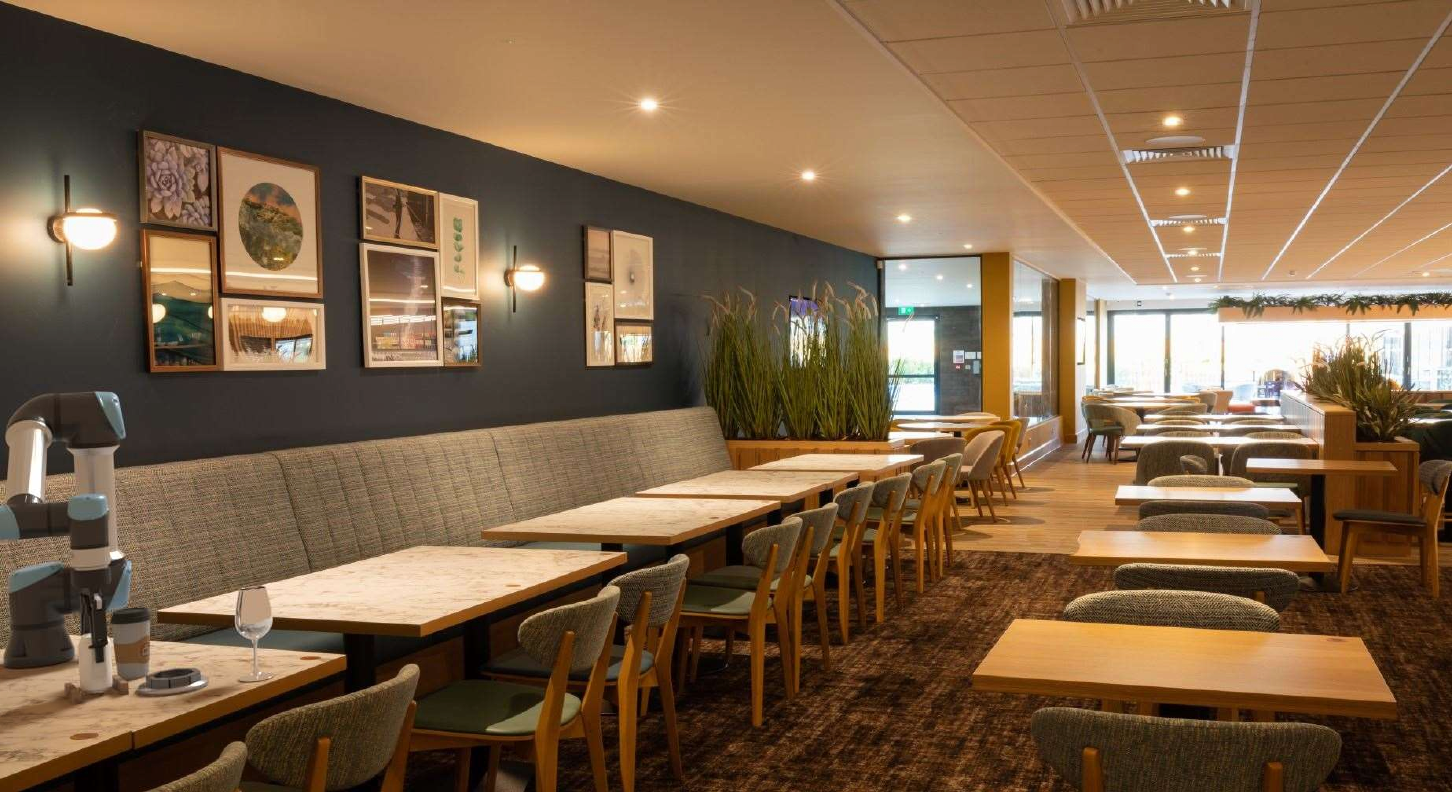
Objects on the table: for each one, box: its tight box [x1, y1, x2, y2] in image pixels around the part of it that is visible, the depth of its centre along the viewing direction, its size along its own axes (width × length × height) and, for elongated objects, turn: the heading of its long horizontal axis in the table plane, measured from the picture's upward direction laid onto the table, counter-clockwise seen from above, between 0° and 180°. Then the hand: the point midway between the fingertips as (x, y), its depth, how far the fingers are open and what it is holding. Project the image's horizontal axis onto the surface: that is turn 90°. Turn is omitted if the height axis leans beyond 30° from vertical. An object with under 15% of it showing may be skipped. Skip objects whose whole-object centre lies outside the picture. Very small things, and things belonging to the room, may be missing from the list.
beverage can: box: [77, 633, 113, 694], centre depth 263 cm, size 6×6×12 cm
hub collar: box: [137, 667, 210, 697], centre depth 267 cm, size 14×14×3 cm
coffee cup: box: [110, 606, 152, 681], centre depth 278 cm, size 8×8×15 cm
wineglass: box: [234, 585, 275, 683], centre depth 273 cm, size 8×8×20 cm
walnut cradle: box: [64, 674, 130, 705], centre depth 263 cm, size 10×10×2 cm
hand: (95, 674), depth 263 cm, fingers closed on beverage can, 6 cm apart
